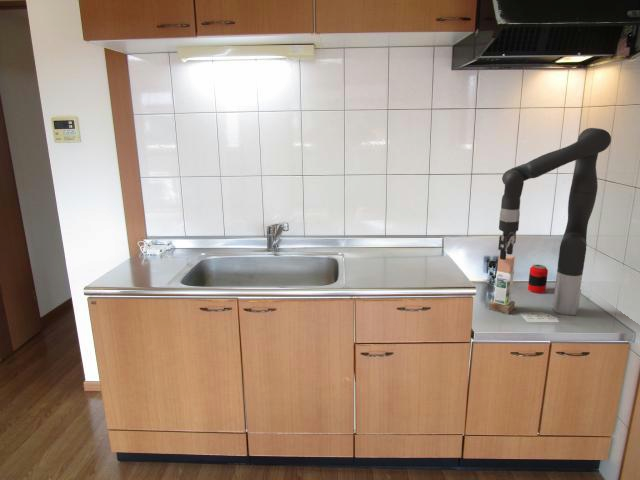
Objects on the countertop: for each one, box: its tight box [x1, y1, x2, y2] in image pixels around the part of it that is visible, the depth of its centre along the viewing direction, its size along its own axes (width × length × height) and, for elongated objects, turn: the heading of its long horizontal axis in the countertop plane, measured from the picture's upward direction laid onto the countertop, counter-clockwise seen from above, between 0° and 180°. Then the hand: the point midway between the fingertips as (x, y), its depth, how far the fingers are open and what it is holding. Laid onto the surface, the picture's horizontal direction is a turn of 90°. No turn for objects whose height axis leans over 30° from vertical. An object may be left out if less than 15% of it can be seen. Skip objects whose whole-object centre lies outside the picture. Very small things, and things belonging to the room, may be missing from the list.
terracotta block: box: [496, 254, 516, 273], centre depth 188 cm, size 5×5×6 cm
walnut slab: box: [488, 299, 516, 315], centre depth 193 cm, size 8×8×3 cm
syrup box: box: [493, 269, 515, 306], centre depth 190 cm, size 6×6×14 cm
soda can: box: [527, 264, 549, 294], centre depth 210 cm, size 8×8×12 cm
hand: (506, 256), depth 188 cm, fingers open, 8 cm apart
